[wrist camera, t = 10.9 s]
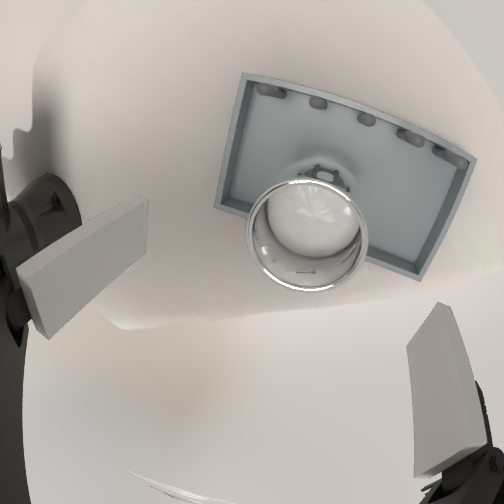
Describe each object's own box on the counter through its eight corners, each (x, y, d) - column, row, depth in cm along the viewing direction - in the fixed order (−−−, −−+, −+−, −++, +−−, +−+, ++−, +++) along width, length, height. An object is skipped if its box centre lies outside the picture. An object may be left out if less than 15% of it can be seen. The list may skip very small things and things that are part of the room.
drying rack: (226, 197, 33) (194, 223, 26) (253, 76, 26) (223, 66, 19) (414, 265, 30) (428, 307, 23) (463, 153, 22) (498, 169, 16)
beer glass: (368, 158, 25) (394, 206, 13) (344, 220, 29) (340, 312, 16) (300, 133, 26) (259, 155, 14) (281, 196, 30) (230, 270, 17)
